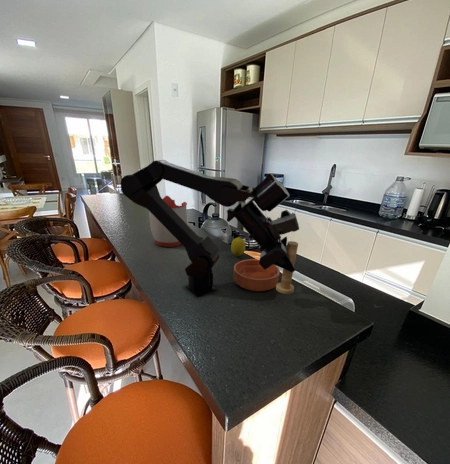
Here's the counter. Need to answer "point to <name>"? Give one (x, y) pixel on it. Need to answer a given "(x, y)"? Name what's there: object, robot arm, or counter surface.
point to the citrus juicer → (160, 231)
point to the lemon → (238, 246)
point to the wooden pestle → (285, 283)
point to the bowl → (255, 275)
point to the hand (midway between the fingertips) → (293, 268)
